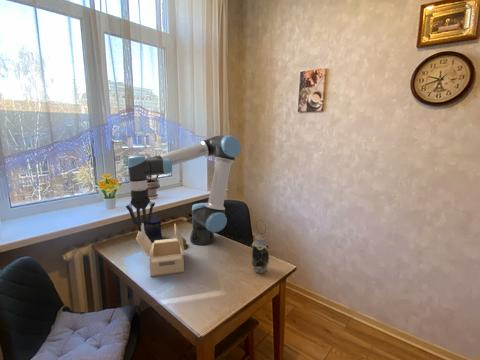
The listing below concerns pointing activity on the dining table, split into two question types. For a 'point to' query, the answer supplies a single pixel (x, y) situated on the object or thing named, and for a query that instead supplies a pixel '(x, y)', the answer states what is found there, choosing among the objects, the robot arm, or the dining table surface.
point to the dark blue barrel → (154, 229)
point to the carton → (166, 257)
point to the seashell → (184, 243)
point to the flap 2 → (179, 237)
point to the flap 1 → (144, 243)
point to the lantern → (260, 253)
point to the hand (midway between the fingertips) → (143, 237)
